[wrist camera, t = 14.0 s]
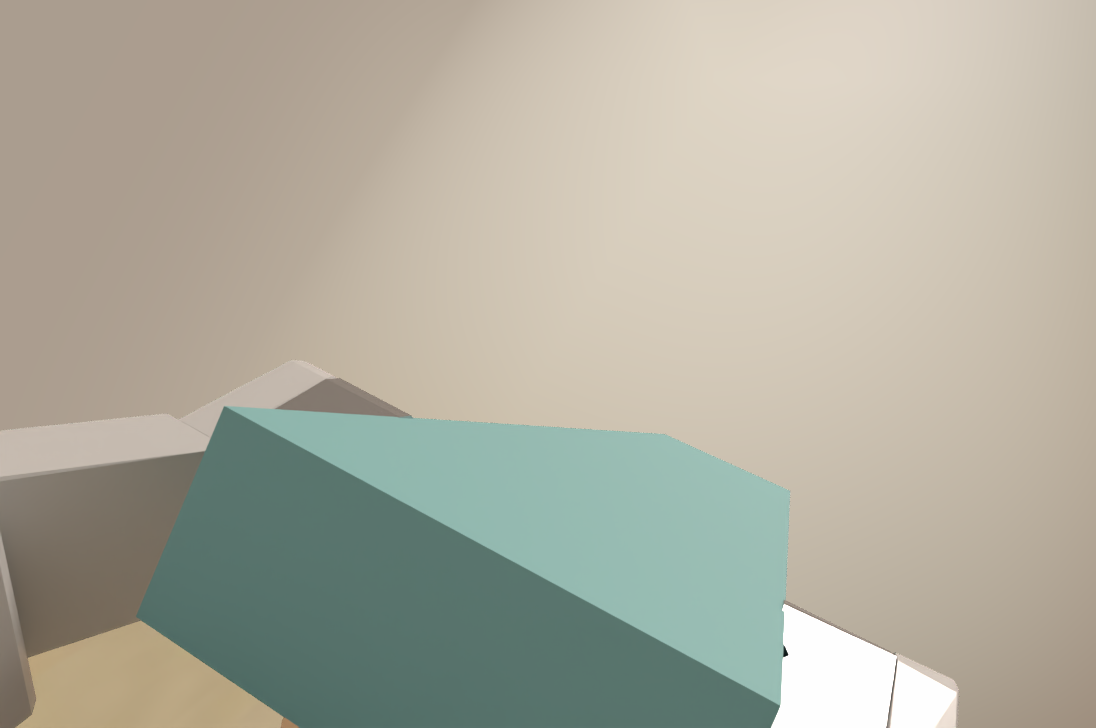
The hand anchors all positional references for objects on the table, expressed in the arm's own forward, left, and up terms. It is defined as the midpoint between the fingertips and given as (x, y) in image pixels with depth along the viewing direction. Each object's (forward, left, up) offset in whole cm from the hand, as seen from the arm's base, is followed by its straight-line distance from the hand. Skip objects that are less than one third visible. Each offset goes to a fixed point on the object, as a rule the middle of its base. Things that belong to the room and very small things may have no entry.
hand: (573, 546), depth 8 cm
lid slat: (+6, +2, -1) cm, 7 cm away
